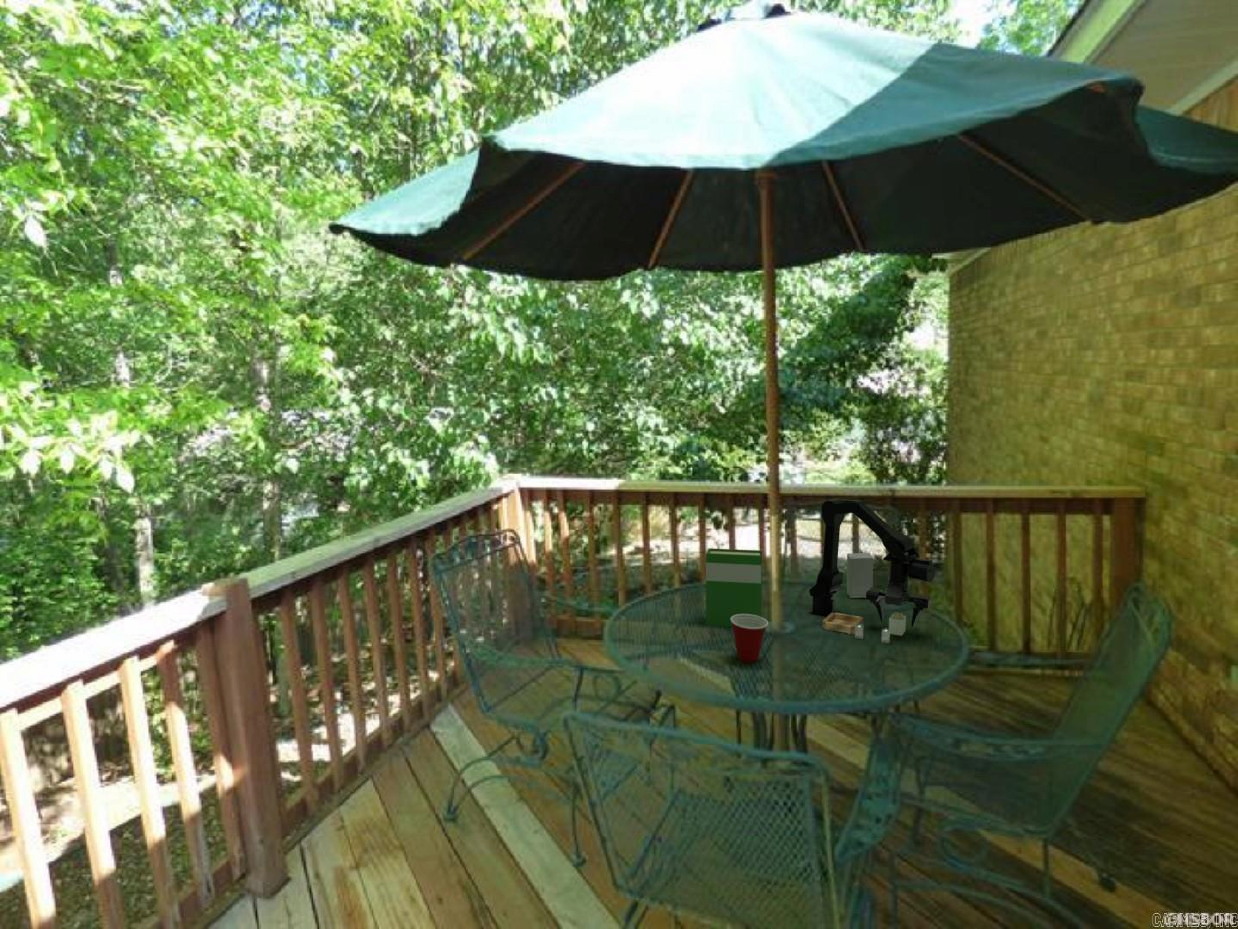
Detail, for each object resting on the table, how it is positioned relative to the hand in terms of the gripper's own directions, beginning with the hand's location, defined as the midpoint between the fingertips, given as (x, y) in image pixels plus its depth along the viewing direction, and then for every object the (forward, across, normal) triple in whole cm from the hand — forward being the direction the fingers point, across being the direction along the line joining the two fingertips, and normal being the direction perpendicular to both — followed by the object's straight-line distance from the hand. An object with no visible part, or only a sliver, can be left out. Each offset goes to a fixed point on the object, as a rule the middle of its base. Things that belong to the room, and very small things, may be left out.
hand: (897, 624), depth 241 cm
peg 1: (+3, -9, -11) cm, 14 cm away
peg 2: (+3, -1, -11) cm, 11 cm away
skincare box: (+3, -20, +31) cm, 37 cm away
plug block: (+3, 0, 0) cm, 3 cm away
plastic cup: (+3, -32, -45) cm, 55 cm away
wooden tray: (+3, -16, -4) cm, 17 cm away
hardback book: (+3, -48, -18) cm, 51 cm away
